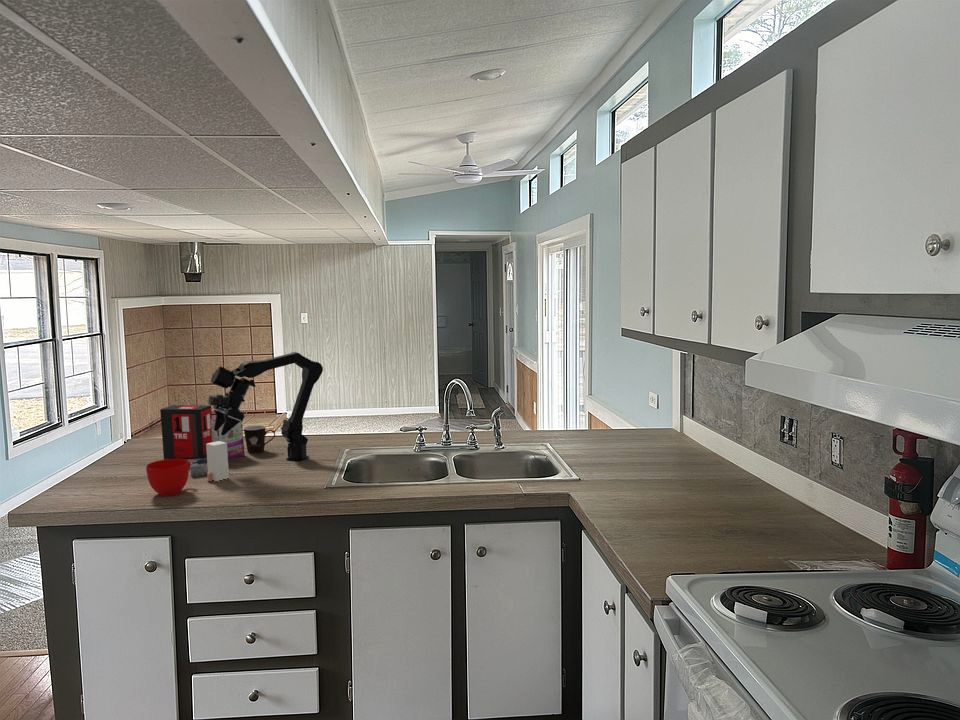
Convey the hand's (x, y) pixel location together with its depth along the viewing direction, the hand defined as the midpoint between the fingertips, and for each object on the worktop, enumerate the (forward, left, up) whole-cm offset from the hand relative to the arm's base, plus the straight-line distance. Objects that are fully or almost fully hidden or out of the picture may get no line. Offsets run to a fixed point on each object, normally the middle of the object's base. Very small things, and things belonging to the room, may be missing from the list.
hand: (218, 432), depth 255 cm
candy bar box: (+11, -18, -15) cm, 26 cm away
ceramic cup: (-1, +24, -15) cm, 28 cm away
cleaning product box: (+28, -15, -15) cm, 36 cm away
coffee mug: (+5, -29, -15) cm, 33 cm away
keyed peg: (-6, +8, -15) cm, 18 cm away
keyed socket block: (+6, 0, -15) cm, 16 cm away
